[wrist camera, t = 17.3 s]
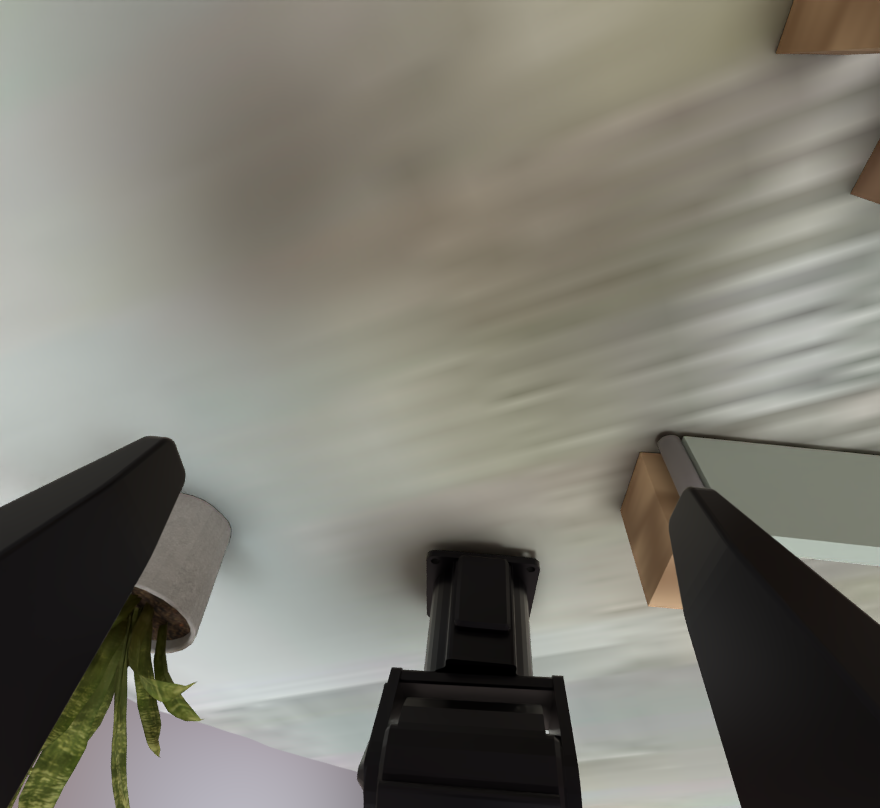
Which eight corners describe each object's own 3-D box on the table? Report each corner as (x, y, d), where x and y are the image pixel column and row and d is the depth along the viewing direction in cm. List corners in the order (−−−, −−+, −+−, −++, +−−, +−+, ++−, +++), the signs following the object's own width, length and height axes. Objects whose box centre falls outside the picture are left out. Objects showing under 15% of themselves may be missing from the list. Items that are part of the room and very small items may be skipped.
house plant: (-4, 418, 25) (-551, 801, 12) (235, 406, 23) (-102, 849, 10) (127, 579, 33) (-114, 916, 20) (313, 581, 31) (183, 955, 18)
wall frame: (659, 513, 25) (695, 610, 20) (620, 510, 25) (648, 606, 21) (886, -40, 13) (1105, -101, 8) (807, -40, 13) (979, -99, 8)
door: (654, 450, 22) (695, 546, 18) (661, 433, 22) (705, 528, 17) (964, 481, 22) (1087, 588, 17) (979, 465, 21) (1111, 572, 17)
